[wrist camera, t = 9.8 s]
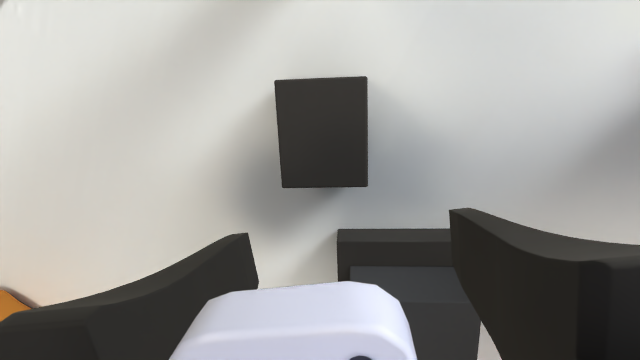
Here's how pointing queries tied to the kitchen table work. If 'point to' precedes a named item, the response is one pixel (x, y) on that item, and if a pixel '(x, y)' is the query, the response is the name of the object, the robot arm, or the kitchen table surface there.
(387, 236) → the base pad
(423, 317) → the black rectangular block
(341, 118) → the dark grey rectangular block
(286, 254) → the kitchen table surface
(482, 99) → the kitchen table surface
